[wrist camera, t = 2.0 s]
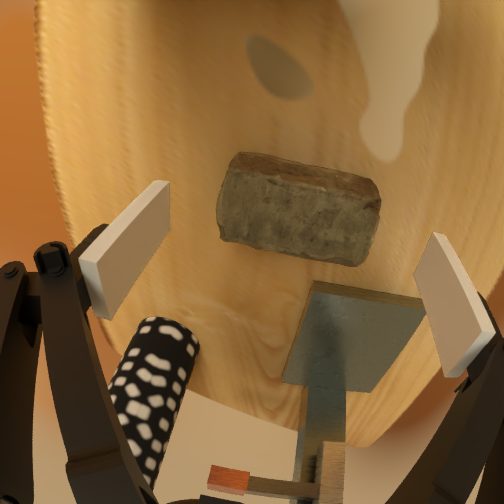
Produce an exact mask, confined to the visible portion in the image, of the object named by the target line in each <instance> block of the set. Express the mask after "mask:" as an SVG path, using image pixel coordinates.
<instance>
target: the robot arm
mask: <svg viewBox="0 0 504 504" xmlns="http://www.w3.org/2000/svg"><path fill="white" fill-rule="evenodd" d="M169 231H170V181H162V180H154V181H153V182H152V183H151V184H150V185H149V186H148V187H147V188H146V189H145V190H144V191H143V192H142V193H141V194H140V195H139V196H138V197H136V198H135V199H134V200H133V201H132V202H131V203H130V204H129V205H128V206H127V207H126V208H125V209H124V210H123V211H122V212H121V213H120V214H119V215H118V216H117V217H116V218H115V219H114V220H113V221H112V223H111V224H110V225H109V224H102V225H100V226H98V227H96V228H95V229H93V230H92V231H91V232H90V233H89V234H88V235H87V237H85V238H84V240H83V241H82V243H80V244H79V245H78V246H77V247H76V248H75V249H74V250H73V251H72V252H71V253H70V254H69V253H68V249H67V246H66V245H65V244H64V243H62V242H57V241H54V242H49V243H46V244H44V245H42V246H41V247H39V248H38V249H37V250H36V251H35V253H34V256H33V257H34V261H35V263H36V267H37V269H38V272H27V271H26V268H25V266H24V264H23V263H21V262H20V261H13V262H9V263H7V264H5V265H4V266H3V267H2V268H0V504H33V502H34V482H33V458H32V433H33V432H32V431H33V408H34V394H35V383H36V373H37V365H38V357H39V350H40V343H41V337H42V331H43V336H44V345H45V353H46V360H47V367H48V373H49V379H50V385H51V390H52V395H53V400H54V404H55V409H56V414H57V418H58V422H59V426H60V430H61V434H62V438H63V441H64V445H65V448H66V452H67V456H68V462H67V464H66V473H67V477H68V481H69V483H70V486H71V489H72V492H73V494H74V497H75V500H76V503H77V504H159V503H158V502H157V499H156V497H155V496H154V494H153V492H152V490H151V488H150V486H149V484H148V483H147V481H146V479H145V478H144V476H143V474H142V472H141V470H140V468H139V466H138V464H137V461H136V459H135V457H134V455H133V452H132V450H131V448H130V445H129V443H128V441H127V438H126V436H125V433H124V431H123V428H122V426H121V423H120V421H119V418H118V415H117V413H116V410H115V407H114V404H113V401H112V399H111V396H110V393H109V390H108V387H107V384H106V381H105V378H104V374H103V371H102V368H101V364H100V361H99V358H98V354H97V351H96V347H95V344H94V340H93V336H92V332H91V328H90V324H89V320H88V316H87V313H86V312H87V310H88V309H89V307H90V306H92V309H93V313H94V316H97V317H100V318H103V319H107V320H110V321H111V320H112V318H113V317H114V315H115V313H116V312H117V310H118V309H119V307H120V305H121V304H122V302H123V301H124V299H125V297H126V296H127V294H128V293H129V291H130V290H131V288H132V286H133V285H134V283H135V282H136V280H137V279H138V277H139V276H140V274H141V273H142V271H143V270H144V268H145V266H146V265H147V263H148V262H149V260H150V259H151V258H152V256H153V255H154V253H155V252H156V250H157V249H158V247H159V246H160V244H161V243H162V241H163V240H164V238H165V237H166V236H167V234H168V233H169ZM413 276H414V278H415V281H416V284H417V287H418V289H419V292H420V295H421V298H422V301H423V304H424V307H425V310H426V313H427V316H428V320H429V323H430V326H431V329H432V333H433V336H434V340H435V343H436V347H437V350H438V354H439V358H440V361H441V365H442V369H443V373H444V377H449V378H458V377H460V375H461V374H462V373H463V372H464V371H465V370H466V369H467V371H468V375H469V376H468V377H467V378H466V379H465V380H464V381H463V382H462V383H461V384H460V385H459V387H458V388H457V389H456V390H455V391H454V392H455V393H456V392H457V391H458V390H459V392H458V394H457V396H456V398H455V400H454V402H453V404H452V405H451V407H450V409H449V411H448V412H447V414H446V416H445V418H444V419H443V421H442V423H441V425H440V426H439V428H438V430H437V431H436V433H435V435H434V436H433V438H432V439H431V441H430V443H429V444H428V446H427V447H426V449H425V451H424V452H423V453H422V455H421V456H420V458H419V459H418V461H417V463H416V464H415V465H414V466H413V468H412V470H411V471H410V472H409V473H408V475H407V476H406V478H405V479H404V480H403V482H402V483H401V484H400V485H399V487H398V488H397V489H396V491H395V492H394V493H393V495H392V496H391V497H390V498H389V499H388V501H387V502H386V503H385V504H465V503H466V501H467V499H468V497H469V495H470V493H471V491H472V489H473V488H474V486H475V484H476V482H477V480H478V478H479V476H480V474H481V472H482V469H483V467H484V465H485V468H484V472H483V476H482V481H481V484H480V488H479V491H478V495H477V498H476V501H475V504H504V338H503V337H502V335H501V333H500V330H499V328H498V326H497V324H496V322H495V319H494V317H492V313H491V311H490V310H489V307H488V305H487V303H486V301H485V299H484V298H483V297H482V296H481V294H480V293H479V292H477V291H476V289H475V287H474V285H473V283H472V281H471V280H470V278H469V276H468V274H467V272H466V270H465V268H464V267H463V265H462V263H461V261H460V259H459V258H458V256H457V254H456V252H455V251H454V249H453V247H452V246H451V244H450V242H449V241H448V239H447V237H446V236H445V235H444V234H440V233H436V232H432V235H431V237H430V239H429V242H428V244H427V246H426V248H425V251H424V253H423V255H422V257H421V259H420V262H419V264H418V266H417V268H416V270H415V272H414V274H413ZM485 463H486V464H485ZM167 504H243V503H241V502H235V501H229V500H225V499H219V498H215V497H210V496H205V495H200V499H189V500H179V501H174V502H171V503H167Z"/></svg>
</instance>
